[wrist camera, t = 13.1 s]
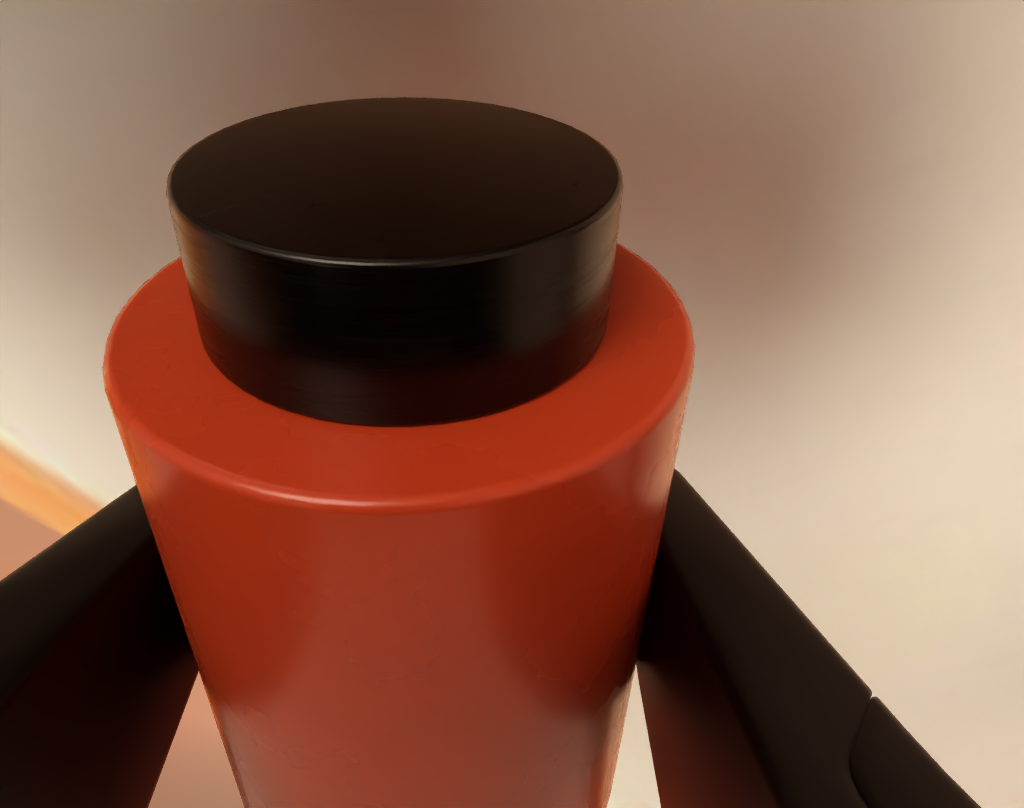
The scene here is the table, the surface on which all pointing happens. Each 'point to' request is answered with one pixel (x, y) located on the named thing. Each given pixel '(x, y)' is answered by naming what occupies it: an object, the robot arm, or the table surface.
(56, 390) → the table surface
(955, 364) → the table surface
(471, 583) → the bottle
